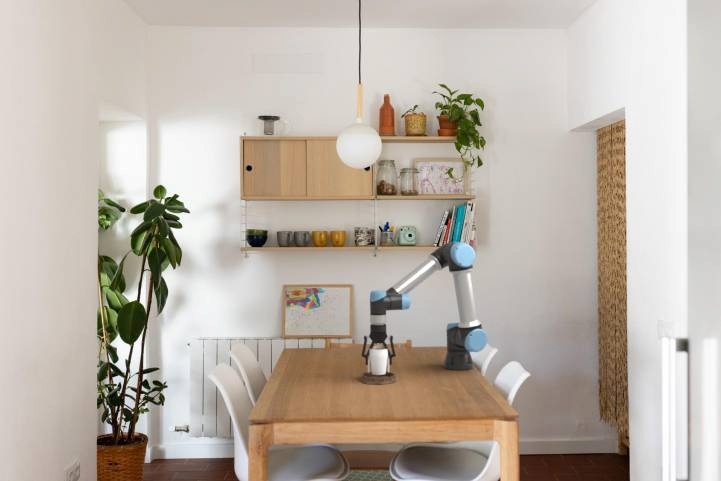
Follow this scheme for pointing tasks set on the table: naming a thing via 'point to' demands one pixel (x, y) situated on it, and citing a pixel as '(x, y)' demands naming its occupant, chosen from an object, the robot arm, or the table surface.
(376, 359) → the cup
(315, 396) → the table surface
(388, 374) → the round tray
